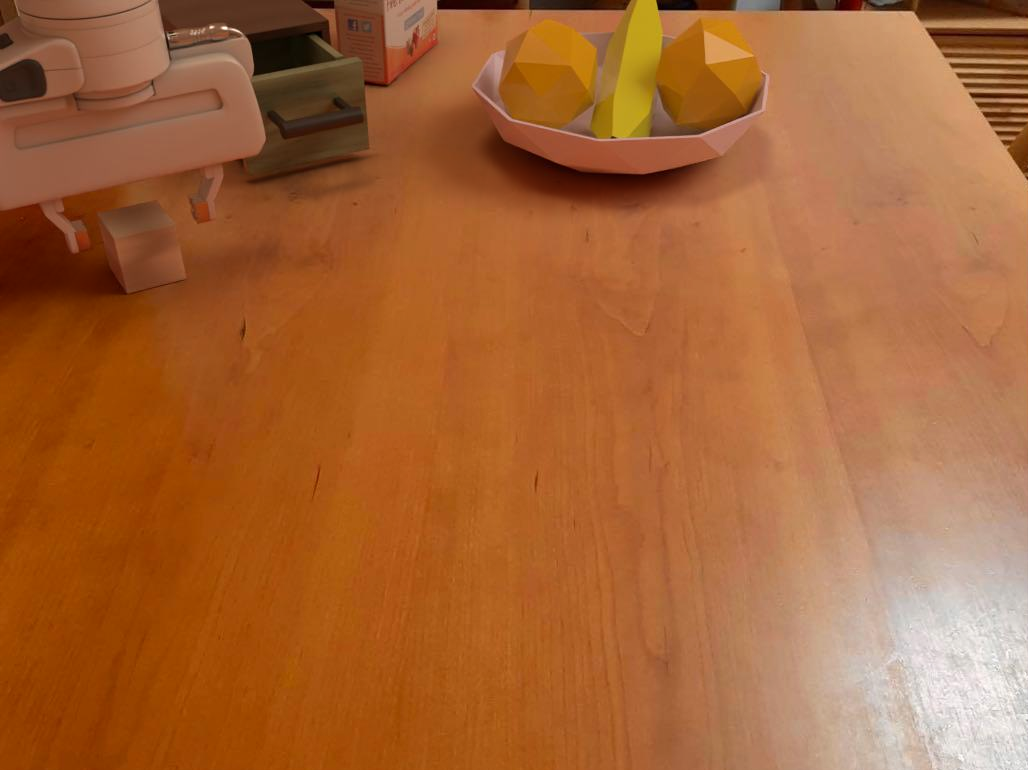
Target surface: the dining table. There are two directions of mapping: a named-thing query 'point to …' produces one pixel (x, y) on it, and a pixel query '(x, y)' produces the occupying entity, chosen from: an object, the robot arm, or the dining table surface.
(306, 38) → the drawer
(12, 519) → the dining table surface
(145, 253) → the block
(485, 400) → the dining table surface
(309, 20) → the cabinet
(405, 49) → the cracker box
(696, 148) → the fruit bowl
